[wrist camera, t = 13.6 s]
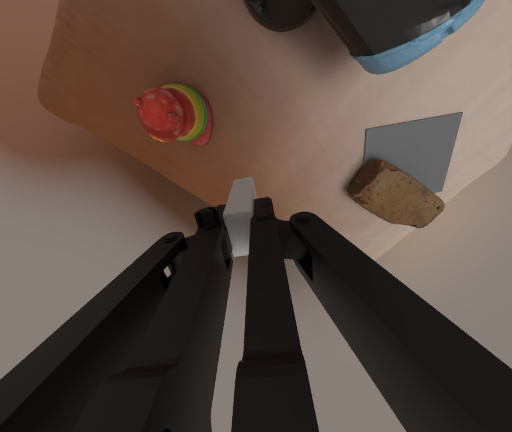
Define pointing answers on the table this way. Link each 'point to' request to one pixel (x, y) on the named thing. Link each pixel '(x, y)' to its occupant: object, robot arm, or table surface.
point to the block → (394, 195)
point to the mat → (416, 147)
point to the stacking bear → (175, 114)
